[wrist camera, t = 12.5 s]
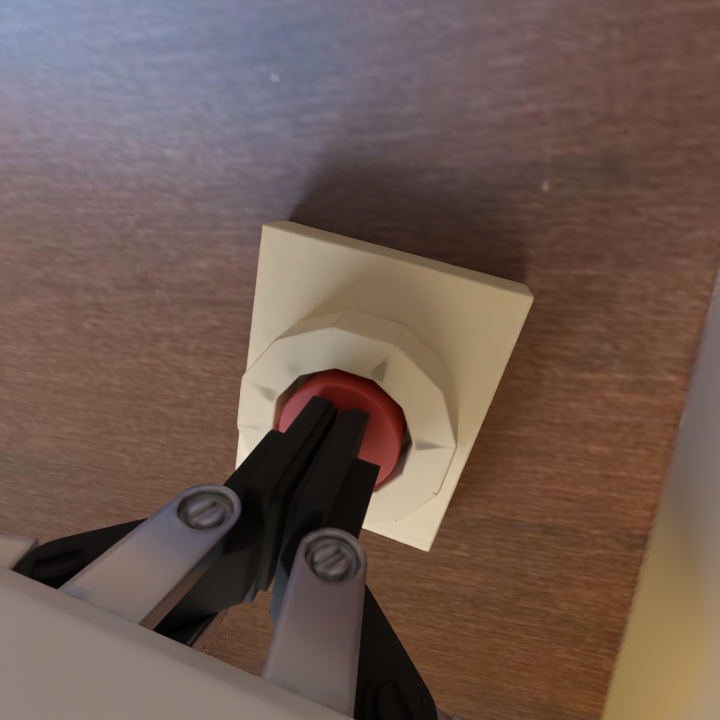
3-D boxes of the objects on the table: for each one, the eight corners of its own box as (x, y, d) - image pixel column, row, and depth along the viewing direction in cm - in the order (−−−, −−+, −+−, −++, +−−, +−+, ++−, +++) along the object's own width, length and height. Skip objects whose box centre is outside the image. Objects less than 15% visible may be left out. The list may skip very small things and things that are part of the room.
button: (310, 346, 13) (287, 367, 11) (421, 380, 12) (414, 408, 11) (292, 438, 14) (271, 469, 13) (391, 472, 14) (381, 508, 12)
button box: (285, 219, 13) (229, 227, 10) (527, 284, 12) (547, 314, 9) (253, 456, 18) (206, 513, 14) (432, 519, 17) (423, 596, 13)
